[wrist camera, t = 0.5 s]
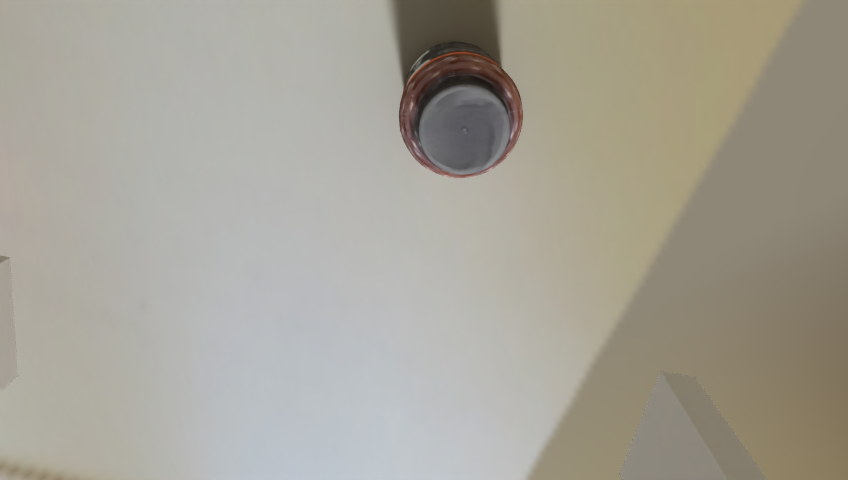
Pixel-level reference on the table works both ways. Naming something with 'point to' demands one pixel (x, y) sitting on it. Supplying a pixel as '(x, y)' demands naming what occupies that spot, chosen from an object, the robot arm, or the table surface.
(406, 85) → the supplement bottle
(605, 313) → the table surface
